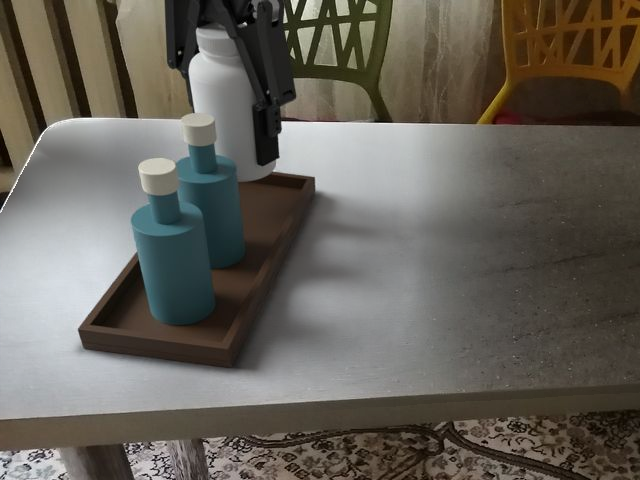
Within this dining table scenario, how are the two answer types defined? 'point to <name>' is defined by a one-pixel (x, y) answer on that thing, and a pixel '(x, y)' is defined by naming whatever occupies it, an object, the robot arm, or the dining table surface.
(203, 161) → the bottle
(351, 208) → the dining table surface
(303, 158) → the dining table surface
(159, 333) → the tray
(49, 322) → the dining table surface
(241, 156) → the pill bottle
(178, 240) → the bottle
